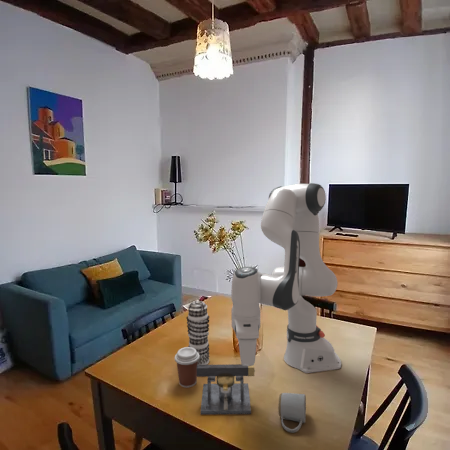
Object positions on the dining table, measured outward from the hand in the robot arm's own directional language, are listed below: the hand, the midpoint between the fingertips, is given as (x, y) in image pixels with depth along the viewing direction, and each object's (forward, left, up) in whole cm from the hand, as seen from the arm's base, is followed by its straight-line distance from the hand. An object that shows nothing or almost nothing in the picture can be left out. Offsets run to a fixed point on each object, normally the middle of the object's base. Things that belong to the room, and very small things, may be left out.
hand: (245, 363), depth 102 cm
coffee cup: (+20, -17, -17) cm, 32 cm away
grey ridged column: (+17, -31, -17) cm, 39 cm away
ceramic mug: (-14, +3, -18) cm, 23 cm away
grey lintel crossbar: (+6, -7, -11) cm, 14 cm away
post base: (+6, -7, -17) cm, 20 cm away
